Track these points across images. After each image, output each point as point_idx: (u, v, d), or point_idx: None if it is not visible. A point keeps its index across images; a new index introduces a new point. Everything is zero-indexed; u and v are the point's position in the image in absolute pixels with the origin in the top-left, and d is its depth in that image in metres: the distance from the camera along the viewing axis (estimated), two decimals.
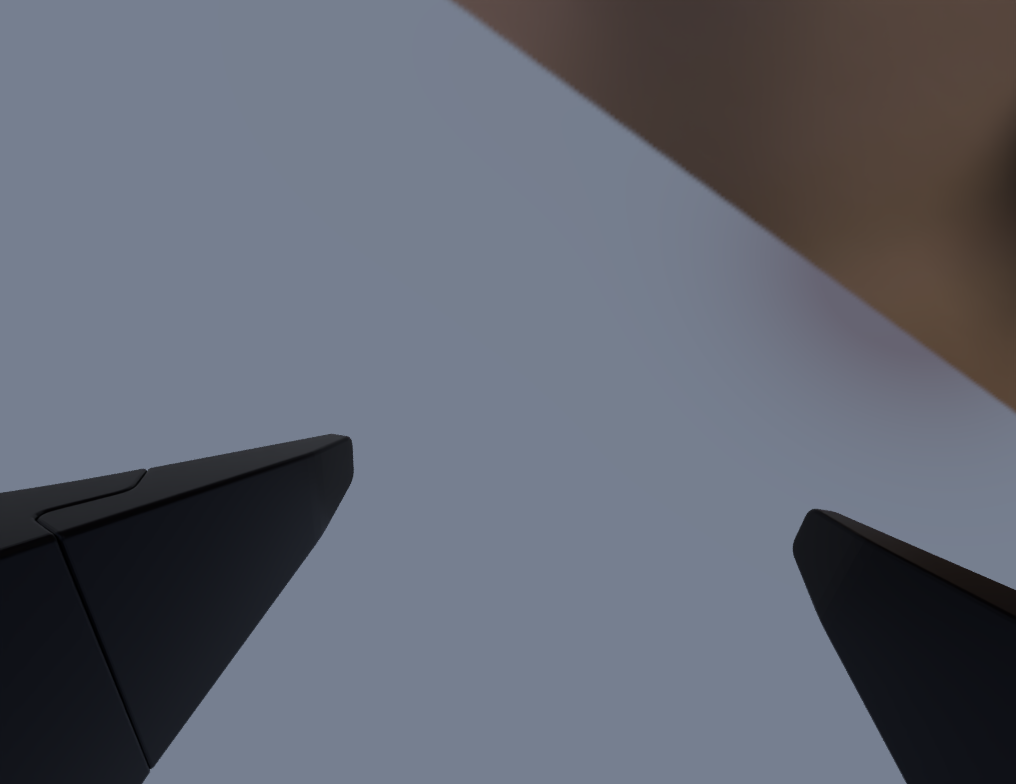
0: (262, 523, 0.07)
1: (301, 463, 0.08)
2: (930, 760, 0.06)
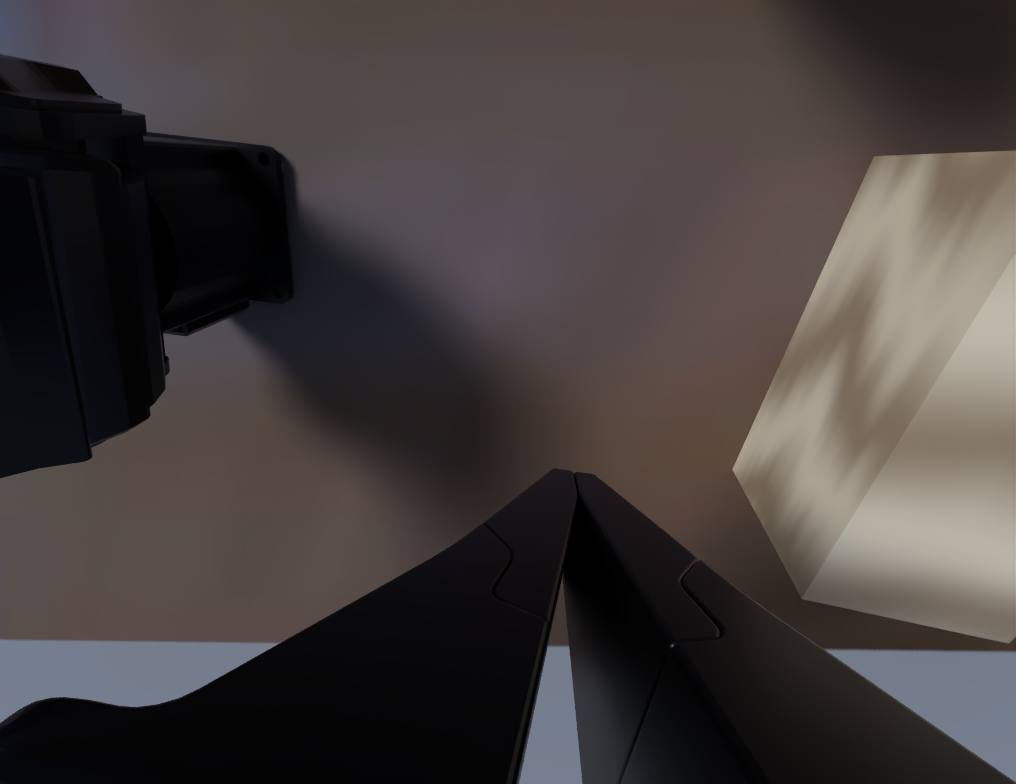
0: (562, 574, 0.07)
1: None
2: None
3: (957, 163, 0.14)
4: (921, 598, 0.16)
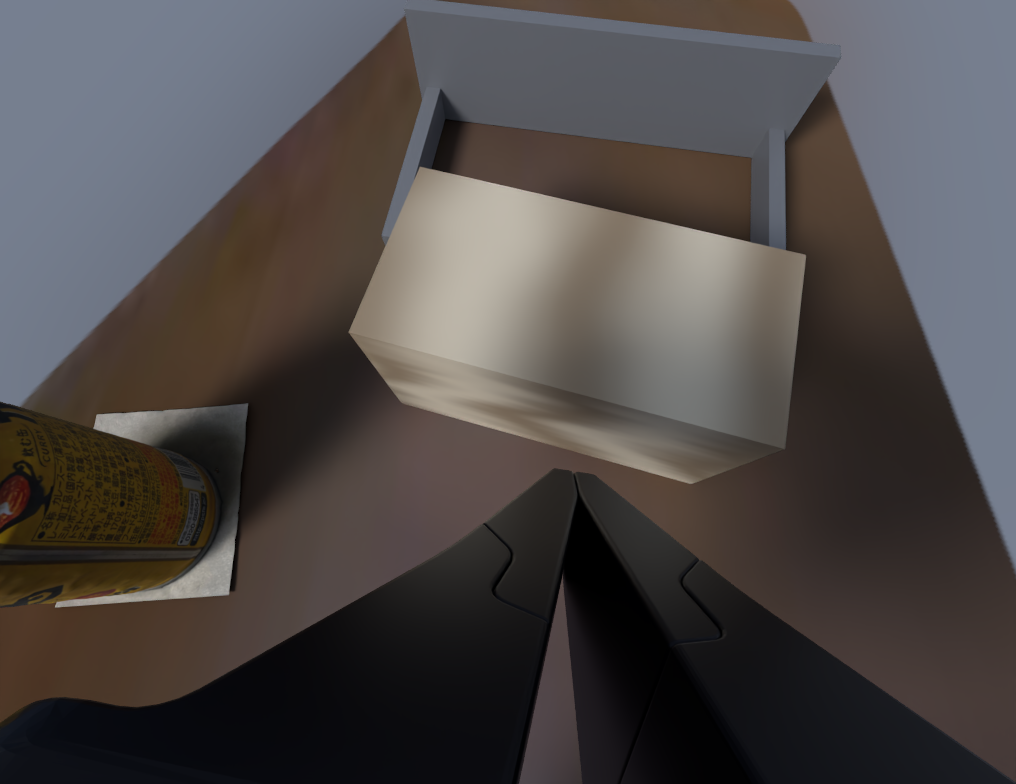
0: (562, 574, 0.07)
1: None
2: None
3: (383, 372, 0.19)
4: (761, 336, 0.15)
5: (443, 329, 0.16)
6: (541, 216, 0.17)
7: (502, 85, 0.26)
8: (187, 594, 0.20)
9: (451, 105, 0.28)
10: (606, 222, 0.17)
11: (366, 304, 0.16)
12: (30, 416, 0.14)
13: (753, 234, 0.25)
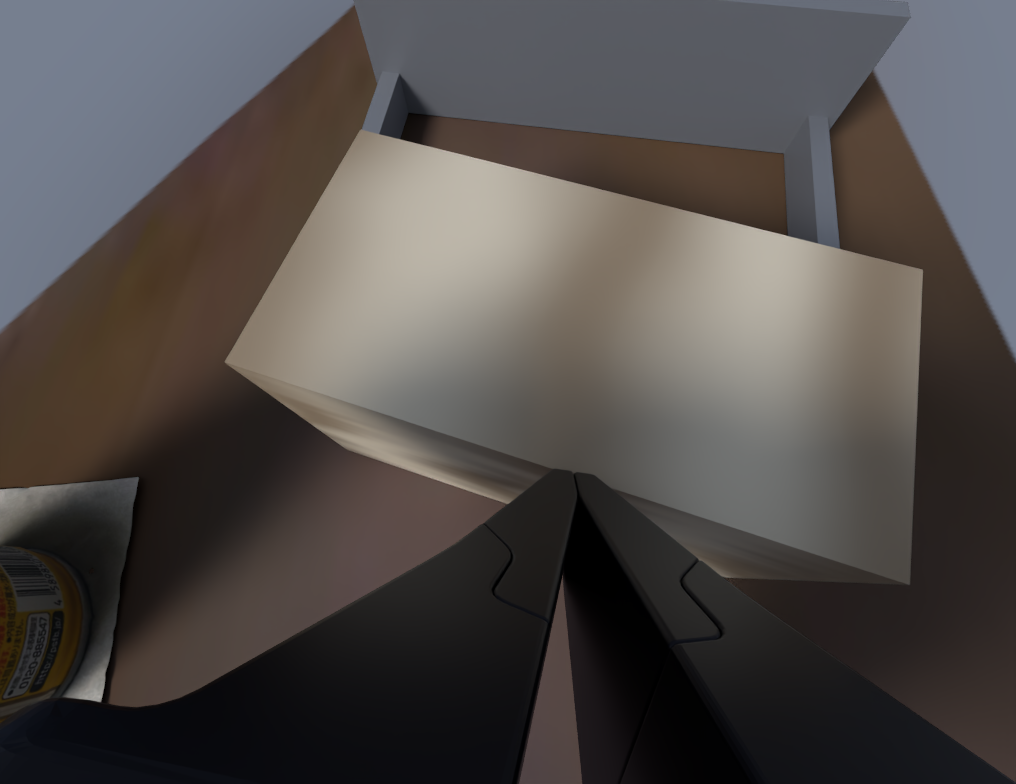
0: None
1: None
2: None
3: (302, 414, 0.13)
4: (860, 393, 0.10)
5: (367, 362, 0.10)
6: (527, 202, 0.12)
7: (474, 67, 0.21)
8: None
9: (413, 94, 0.23)
10: (622, 213, 0.12)
11: (257, 321, 0.11)
12: None
13: None
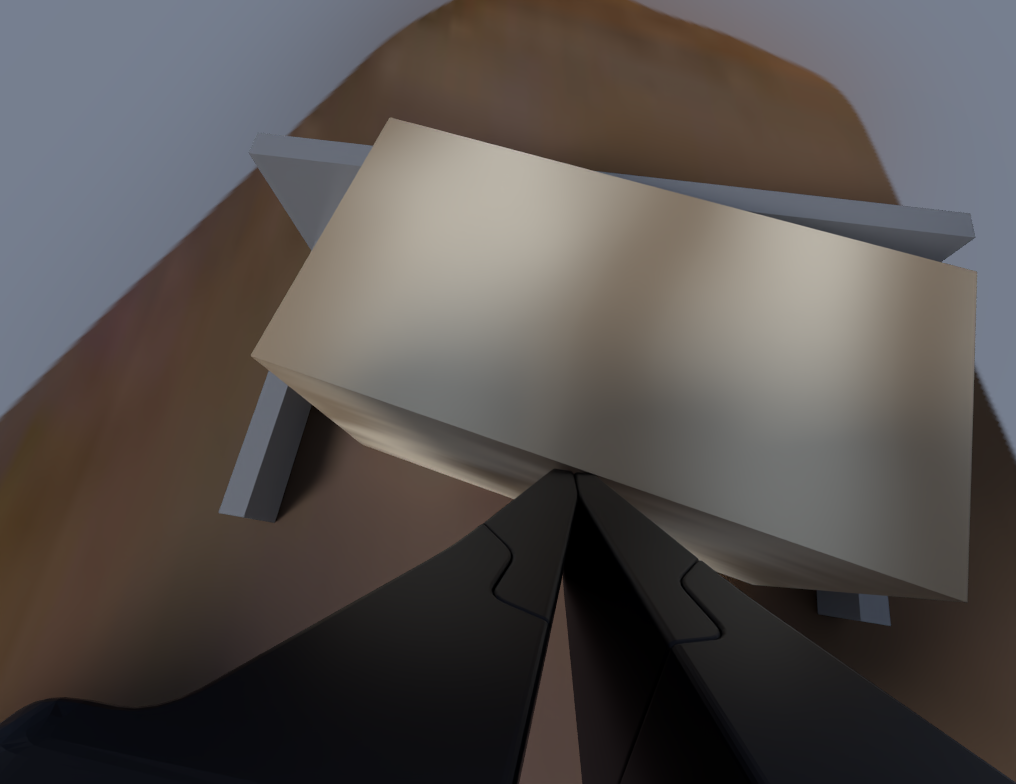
0: None
1: None
2: None
3: (324, 410, 0.13)
4: (913, 400, 0.09)
5: (398, 359, 0.10)
6: (563, 194, 0.11)
7: None
8: None
9: None
10: (661, 208, 0.11)
11: (284, 313, 0.10)
12: None
13: None
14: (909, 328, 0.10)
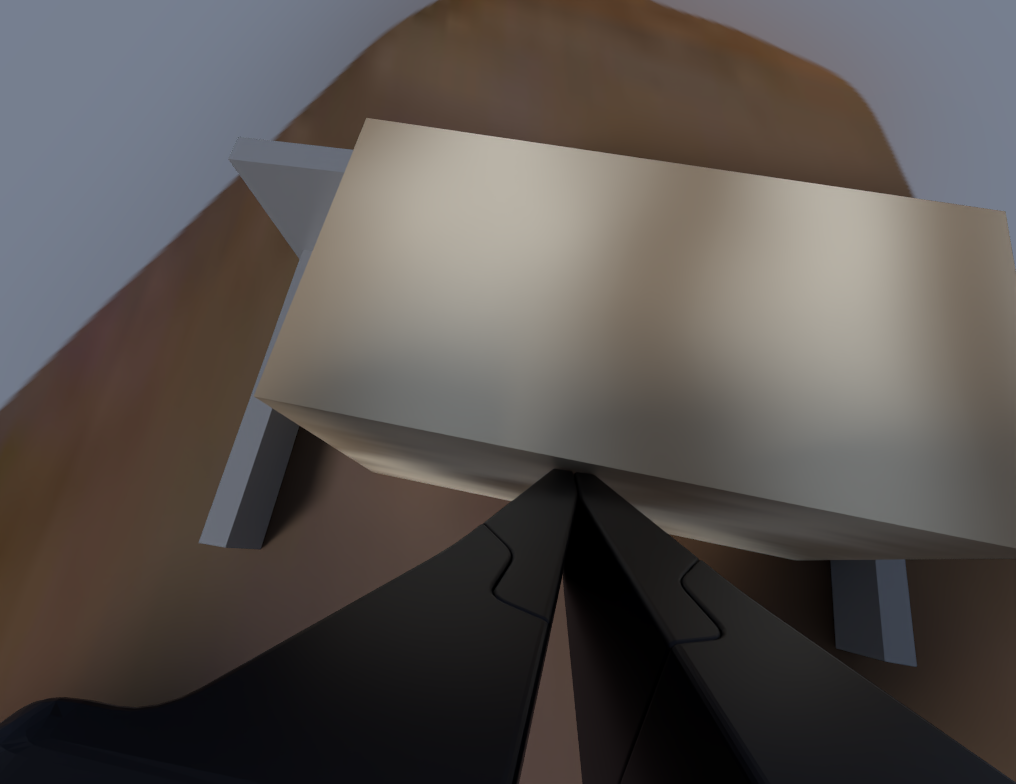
0: (562, 574, 0.07)
1: None
2: None
3: (334, 443, 0.12)
4: (968, 352, 0.09)
5: (419, 379, 0.09)
6: (567, 180, 0.10)
7: None
8: None
9: None
10: (673, 182, 0.10)
11: (284, 344, 0.09)
12: None
13: None
14: (949, 278, 0.10)
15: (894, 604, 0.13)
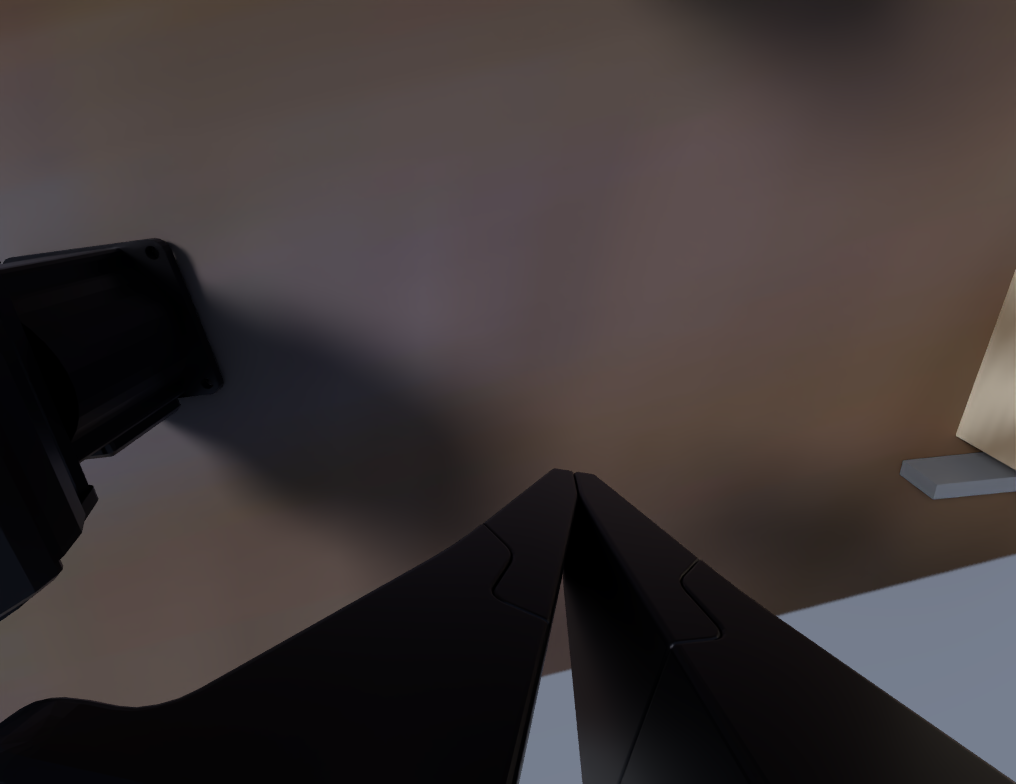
0: (562, 574, 0.07)
1: None
2: None
3: None
4: None
5: None
6: None
7: None
8: None
9: None
10: None
11: None
12: None
13: None
14: None
15: (968, 488, 0.21)
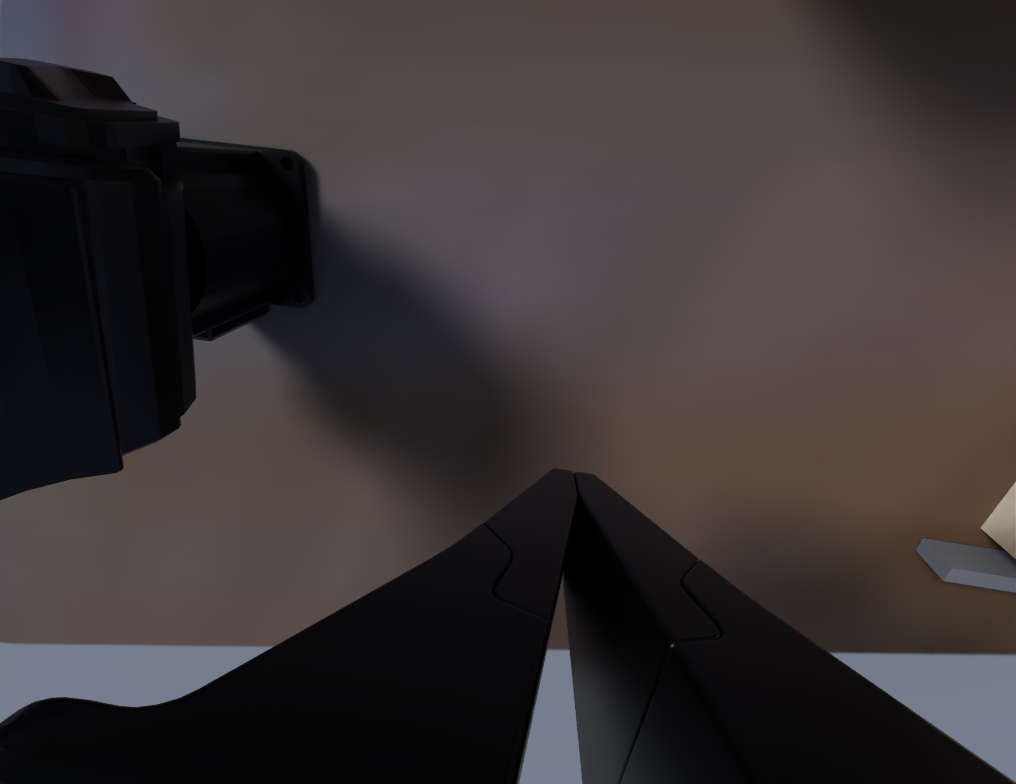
0: (562, 574, 0.07)
1: None
2: None
3: None
4: None
5: None
6: None
7: None
8: None
9: None
10: None
11: None
12: None
13: None
14: None
15: (980, 579, 0.22)
